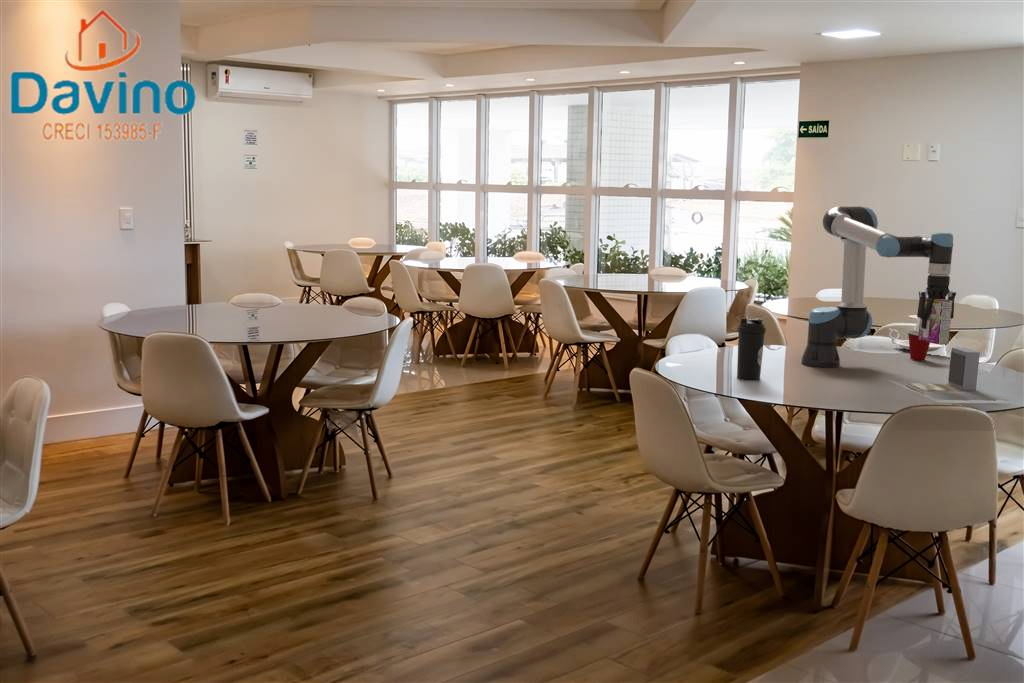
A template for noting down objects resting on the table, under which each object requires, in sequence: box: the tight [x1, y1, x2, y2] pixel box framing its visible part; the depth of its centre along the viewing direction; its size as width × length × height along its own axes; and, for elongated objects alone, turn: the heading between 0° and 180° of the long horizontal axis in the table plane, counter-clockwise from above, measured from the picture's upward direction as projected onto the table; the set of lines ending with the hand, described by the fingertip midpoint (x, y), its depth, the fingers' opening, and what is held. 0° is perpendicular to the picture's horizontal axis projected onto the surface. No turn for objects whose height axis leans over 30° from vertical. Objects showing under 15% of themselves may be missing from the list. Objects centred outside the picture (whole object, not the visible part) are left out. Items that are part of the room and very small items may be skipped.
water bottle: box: [736, 316, 767, 382], centre depth 374 cm, size 10×10×23 cm
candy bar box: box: [918, 297, 953, 346], centre depth 368 cm, size 11×5×16 cm, turn 17°
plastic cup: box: [907, 330, 930, 361], centre depth 427 cm, size 11×11×12 cm
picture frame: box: [906, 382, 980, 395], centre depth 364 cm, size 21×13×1 cm, turn 95°
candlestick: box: [888, 289, 945, 353], centre depth 451 cm, size 21×25×28 cm
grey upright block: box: [947, 347, 981, 390], centre depth 363 cm, size 5×10×14 cm, turn 5°
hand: (933, 337), depth 369 cm, fingers closed on candy bar box, 6 cm apart
